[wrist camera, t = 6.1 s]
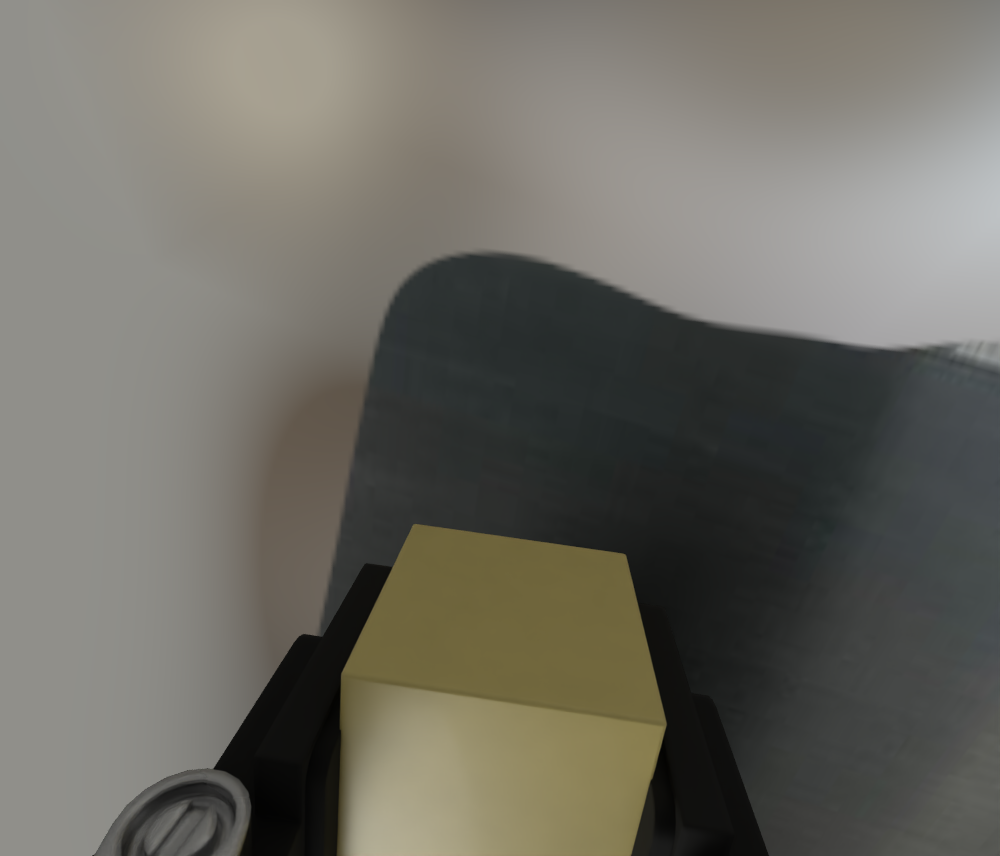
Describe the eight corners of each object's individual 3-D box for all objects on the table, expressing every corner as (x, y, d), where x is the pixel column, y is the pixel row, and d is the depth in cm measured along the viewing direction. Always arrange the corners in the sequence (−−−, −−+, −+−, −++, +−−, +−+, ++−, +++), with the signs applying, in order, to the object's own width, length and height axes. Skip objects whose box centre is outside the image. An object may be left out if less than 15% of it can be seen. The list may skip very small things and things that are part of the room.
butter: (582, 764, 11) (596, 998, 7) (397, 735, 11) (330, 952, 8) (626, 552, 9) (669, 724, 6) (413, 521, 10) (340, 673, 6)
